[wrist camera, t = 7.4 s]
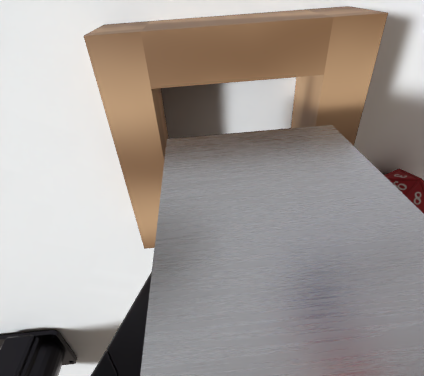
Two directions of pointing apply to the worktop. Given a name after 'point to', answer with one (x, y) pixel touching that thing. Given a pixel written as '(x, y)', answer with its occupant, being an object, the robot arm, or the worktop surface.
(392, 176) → the dice
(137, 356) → the robot arm
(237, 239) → the steel block
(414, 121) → the worktop surface
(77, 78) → the worktop surface
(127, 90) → the brown wooden square frame
